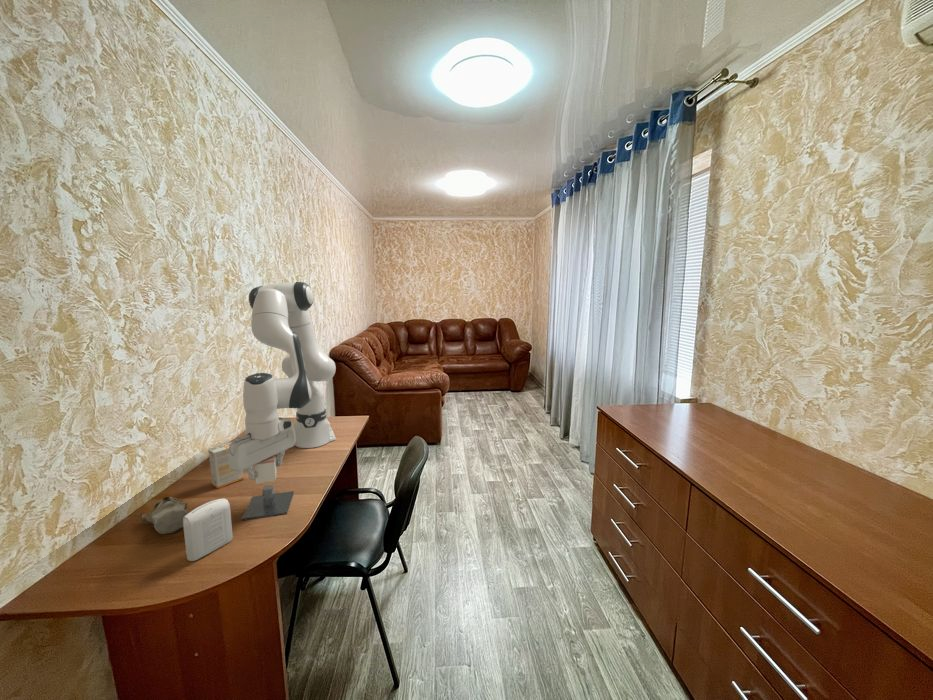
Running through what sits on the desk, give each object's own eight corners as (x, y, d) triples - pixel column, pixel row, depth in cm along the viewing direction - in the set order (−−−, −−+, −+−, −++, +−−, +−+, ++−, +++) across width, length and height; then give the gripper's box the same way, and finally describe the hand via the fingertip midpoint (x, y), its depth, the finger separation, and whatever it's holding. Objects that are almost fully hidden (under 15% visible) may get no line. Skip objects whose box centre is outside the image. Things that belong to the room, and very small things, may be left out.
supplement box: (237, 475, 131) (234, 440, 129) (244, 479, 128) (240, 444, 126) (211, 484, 124) (207, 448, 122) (217, 489, 121) (213, 452, 119)
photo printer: (227, 534, 99) (222, 492, 97) (236, 539, 97) (231, 496, 95) (183, 558, 90) (177, 512, 88) (192, 564, 88) (187, 517, 86)
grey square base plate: (253, 497, 117) (251, 480, 116) (294, 492, 120) (292, 475, 119) (241, 520, 105) (239, 501, 104) (287, 513, 109) (285, 495, 108)
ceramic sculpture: (145, 514, 93) (135, 496, 103) (149, 546, 94) (139, 525, 104) (196, 497, 101) (182, 482, 111) (199, 526, 102) (185, 508, 112)
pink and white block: (258, 475, 112) (256, 455, 111) (276, 472, 115) (275, 453, 113) (255, 483, 108) (254, 463, 107) (275, 480, 110) (273, 460, 109)
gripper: (237, 443, 98) (241, 490, 100) (297, 419, 117) (300, 459, 119) (221, 439, 100) (225, 485, 102) (283, 416, 119) (285, 456, 121)
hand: (266, 471), depth 111 cm, fingers closed on pink and white block, 7 cm apart
